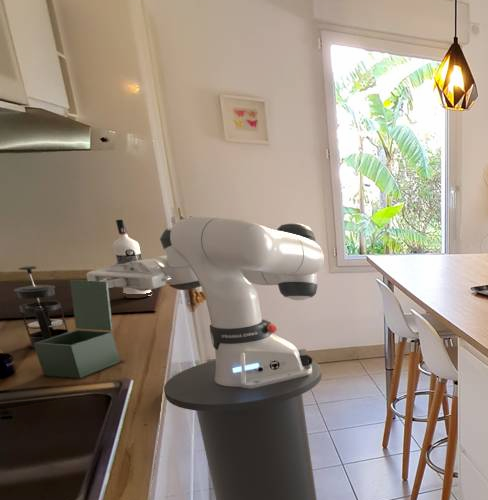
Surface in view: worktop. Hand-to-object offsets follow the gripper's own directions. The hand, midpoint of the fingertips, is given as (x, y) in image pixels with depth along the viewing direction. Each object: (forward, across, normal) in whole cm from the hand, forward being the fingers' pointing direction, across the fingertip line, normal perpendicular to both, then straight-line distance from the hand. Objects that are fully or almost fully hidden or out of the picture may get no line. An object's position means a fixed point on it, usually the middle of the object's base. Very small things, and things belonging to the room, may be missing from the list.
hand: (103, 284), depth 150 cm
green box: (+12, 0, -20) cm, 24 cm away
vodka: (-62, +48, -20) cm, 81 cm away
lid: (+5, 0, -5) cm, 7 cm away
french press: (-3, +26, -20) cm, 33 cm away
